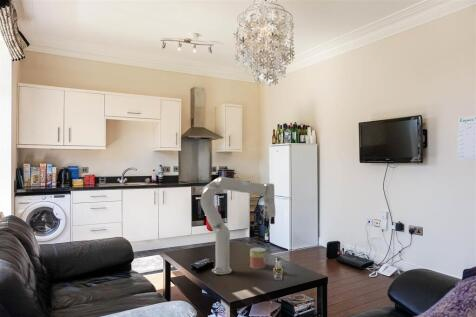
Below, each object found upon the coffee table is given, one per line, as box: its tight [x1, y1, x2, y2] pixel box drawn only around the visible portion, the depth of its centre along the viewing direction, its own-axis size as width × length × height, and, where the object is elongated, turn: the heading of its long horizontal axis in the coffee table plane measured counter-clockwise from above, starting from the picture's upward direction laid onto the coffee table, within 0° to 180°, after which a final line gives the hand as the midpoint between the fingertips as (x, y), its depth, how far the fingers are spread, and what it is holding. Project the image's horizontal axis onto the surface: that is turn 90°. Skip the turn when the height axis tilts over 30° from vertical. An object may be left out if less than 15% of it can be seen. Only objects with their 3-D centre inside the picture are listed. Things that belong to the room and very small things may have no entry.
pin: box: [274, 257, 282, 271], centre depth 217 cm, size 4×4×10 cm
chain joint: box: [272, 264, 284, 281], centre depth 217 cm, size 27×7×2 cm, turn 172°
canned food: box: [249, 247, 267, 270], centre depth 232 cm, size 11×11×12 cm
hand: (269, 225), depth 229 cm, fingers open, 9 cm apart
